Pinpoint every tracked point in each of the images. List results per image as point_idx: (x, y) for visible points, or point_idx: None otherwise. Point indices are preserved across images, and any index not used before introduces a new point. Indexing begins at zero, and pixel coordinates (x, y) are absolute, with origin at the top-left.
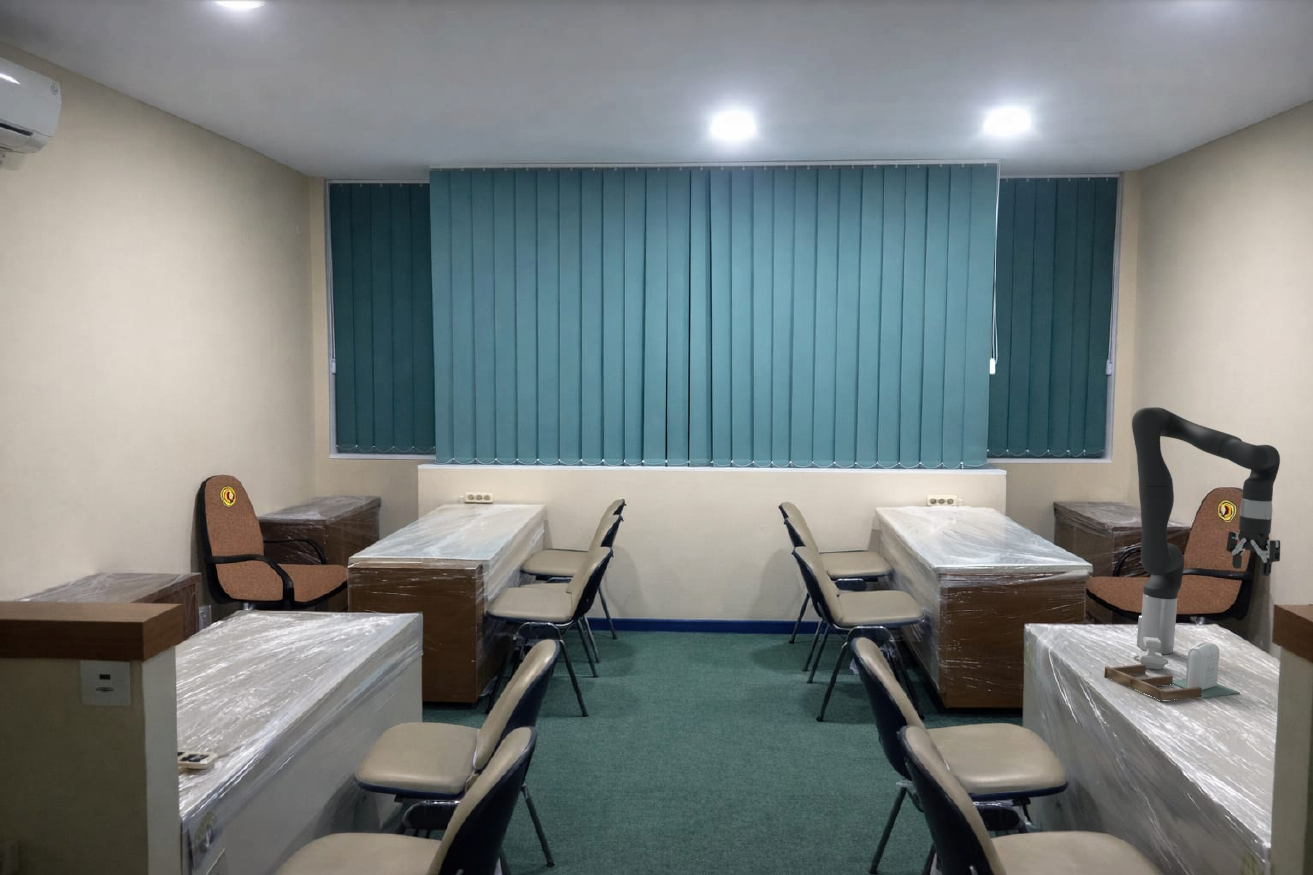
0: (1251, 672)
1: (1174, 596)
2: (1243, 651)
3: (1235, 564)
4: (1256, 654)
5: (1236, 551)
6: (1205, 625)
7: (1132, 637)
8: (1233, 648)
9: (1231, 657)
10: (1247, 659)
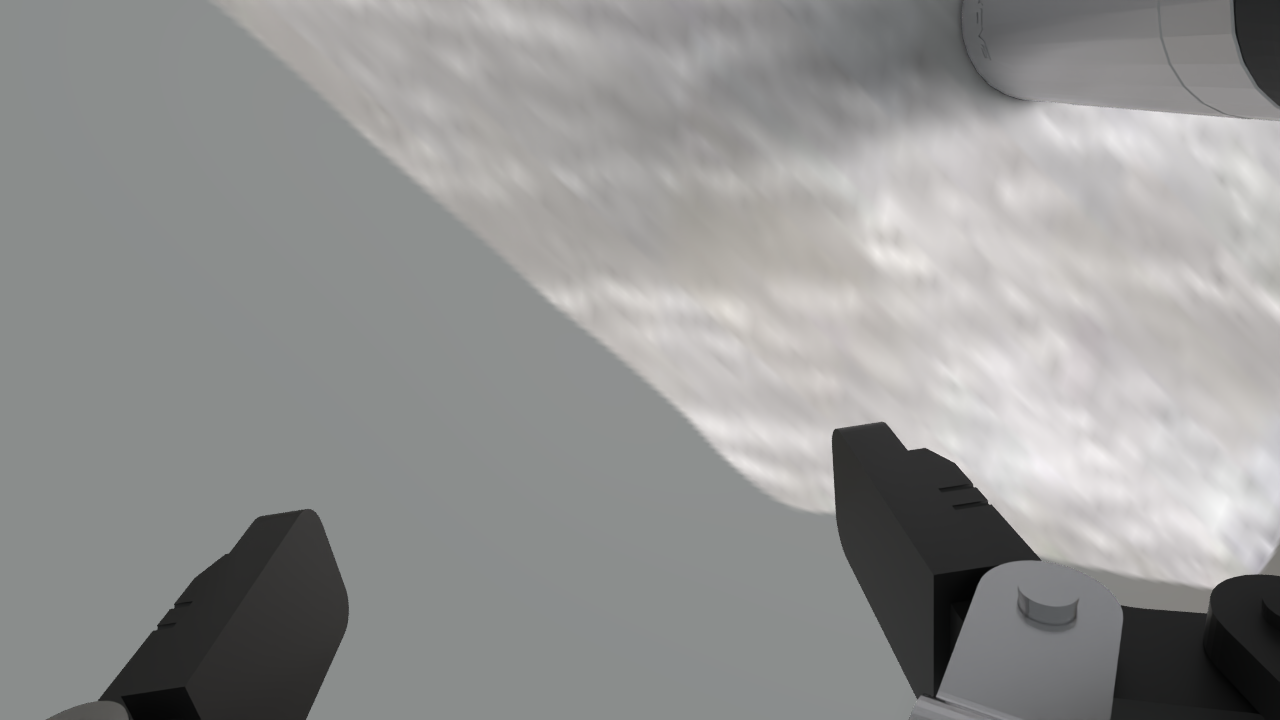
0: (623, 277)
1: (1253, 2)
2: None
3: (859, 457)
4: None
5: (992, 662)
6: None
7: None
8: None
9: (836, 351)
10: (794, 407)
